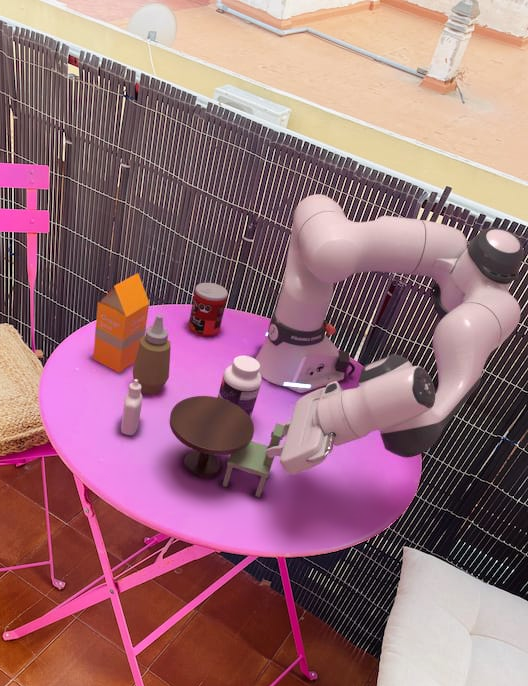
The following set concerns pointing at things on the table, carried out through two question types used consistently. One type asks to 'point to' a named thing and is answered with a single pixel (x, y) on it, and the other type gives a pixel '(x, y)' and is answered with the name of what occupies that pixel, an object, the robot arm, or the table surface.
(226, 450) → the little table
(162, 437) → the table surface
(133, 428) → the eye dropper bottle
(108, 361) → the orange juice
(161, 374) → the squeeze bottle
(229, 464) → the chair
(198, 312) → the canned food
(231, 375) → the pill bottle
